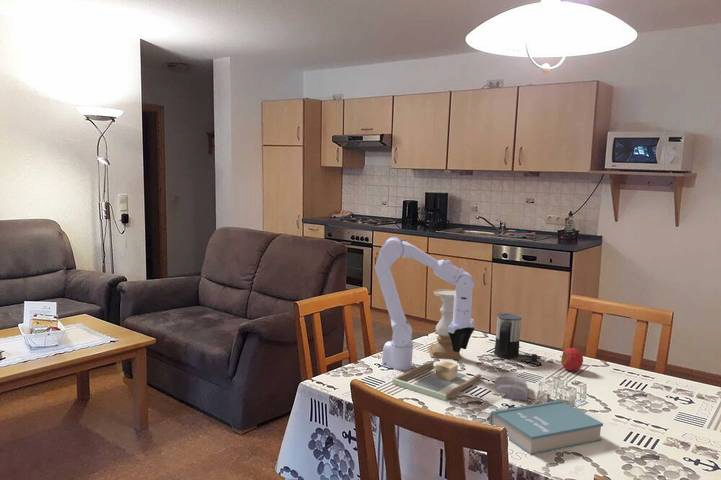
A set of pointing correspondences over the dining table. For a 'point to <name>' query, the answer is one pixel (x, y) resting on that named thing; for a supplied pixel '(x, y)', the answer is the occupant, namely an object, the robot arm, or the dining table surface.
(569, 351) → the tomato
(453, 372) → the maple block
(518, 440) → the book
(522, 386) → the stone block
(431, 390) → the box
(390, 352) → the robot arm
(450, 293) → the candle holder
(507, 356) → the milk frother
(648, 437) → the dining table surface
